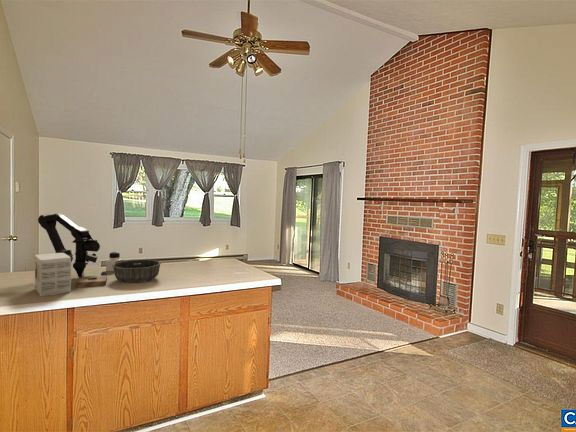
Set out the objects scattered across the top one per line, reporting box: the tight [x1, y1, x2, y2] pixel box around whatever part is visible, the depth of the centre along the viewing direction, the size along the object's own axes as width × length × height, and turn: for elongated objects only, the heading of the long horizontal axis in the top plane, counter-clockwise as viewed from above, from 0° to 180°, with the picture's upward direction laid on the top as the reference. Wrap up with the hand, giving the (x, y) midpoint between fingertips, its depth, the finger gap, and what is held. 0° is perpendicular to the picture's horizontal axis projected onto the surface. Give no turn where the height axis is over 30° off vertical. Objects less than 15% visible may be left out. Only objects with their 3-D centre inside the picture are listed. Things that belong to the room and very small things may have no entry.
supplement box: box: [34, 252, 72, 297], centre depth 174 cm, size 17×13×18 cm
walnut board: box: [75, 274, 108, 288], centre depth 190 cm, size 14×14×2 cm
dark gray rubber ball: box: [100, 270, 108, 276], centre depth 205 cm, size 4×4×4 cm
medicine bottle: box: [105, 251, 124, 273], centre depth 223 cm, size 7×7×12 cm
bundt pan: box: [112, 259, 162, 284], centre depth 202 cm, size 26×26×10 cm
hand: (81, 276), depth 200 cm, fingers open, 6 cm apart
